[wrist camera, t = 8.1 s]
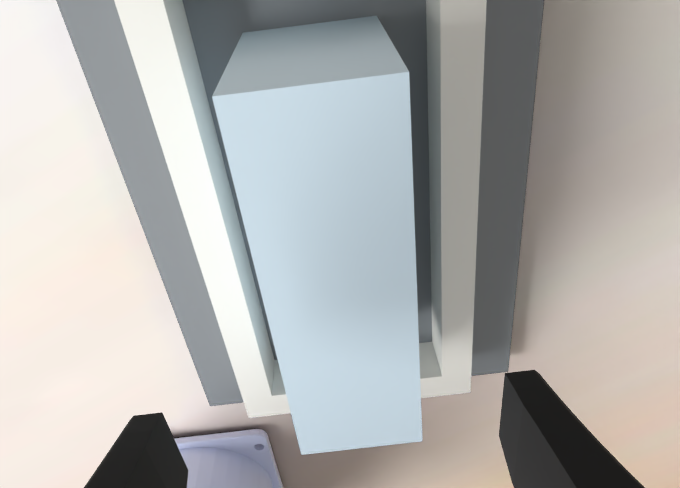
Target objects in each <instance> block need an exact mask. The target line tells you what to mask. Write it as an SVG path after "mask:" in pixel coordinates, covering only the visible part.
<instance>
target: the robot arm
mask: <svg viewBox="0 0 680 488" xmlns="http://www.w3.org/2000/svg"><path fill="white" fill-rule="evenodd" d="M499 437H500V441H501V444H502V448H503V452H504V455H505V459H506V463H507V466H508V469H509V473H510V476H511V480H512V483H513V486H514V488H645V487H644V486H642V485H641V484H640V483H639V482H638V481H637V480H636V479H635V478H634V477H633V476H632V475H631V474H630V473H629V472H628V471H627V470H626V469H625V468H624V467H623V466H622V465H621V464H620V463H619V462H618V461H617V460H616V459H615V457H614V456H613V455H612V454H611V453H610V452H609V451H608V450H607V449H606V448H605V447H604V446H603V445H602V444H601V443H600V442H599V441H598V440H597V439H596V438H595V437H594V436H593V435H592V433H591V432H590V431H589V430H588V429H587V428H586V427H585V426H584V425H583V424H582V423H581V421H580V420H579V419H578V418H577V417H576V416H575V415H574V414H573V413H572V411H571V410H570V409H569V408H568V407H567V406H566V405H565V403H564V402H563V401H562V400H561V399H560V398H559V397H558V395H557V394H556V393H555V392H554V391H553V389H552V388H551V387H550V386H549V385H548V384H547V382H546V381H545V380H544V379H543V378H542V376H541V375H540V374H539V373H538V372H536V371H535V370H529V371H521V372H512V373H505V378H504V388H503V399H502V409H501V420H500V430H499ZM84 488H283V485H282V482H281V478H280V475H279V472H278V468H277V465H276V462H275V458H274V455H273V452H272V448H271V445H270V442H269V438H268V435H267V433H266V432H265V431H263V430H261V429H252V430H244V431H235V432H226V433H217V434H209V435H200V436H191V437H183V438H173V435H172V433H171V431H170V429H169V427H168V424H167V422H166V420H165V418H164V416H163V413H154V414H146V415H137V416H133V417H132V418H131V420H130V421H129V422H128V424H127V425H126V427H125V428H124V430H123V431H122V433H121V434H120V436H119V437H118V439H117V440H116V442H115V443H114V445H113V446H112V447H111V449H110V450H109V452H108V453H107V455H106V456H105V458H104V459H103V461H102V462H101V464H100V465H99V467H98V468H97V470H96V471H95V472H94V474H93V475H92V477H91V478H90V480H89V481H88V483H87V484H86V485H85V487H84Z"/></svg>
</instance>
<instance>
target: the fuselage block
mask: <svg viewBox="0 0 680 488" xmlns="http://www.w3.org/2000/svg"><path fill="white" fill-rule="evenodd" d="M212 99H213V103H214V107H215V111H216V115H217V119H218V123H219V127H220V131H221V135H222V139H223V143H224V147H225V151H226V155H227V159H228V163H229V167H230V171H231V175H232V179H233V183H234V187H235V191H236V195H237V199H238V203H239V207H240V211H241V215H242V219H243V223H244V227H245V231H246V235H247V239H248V243H249V247H250V251H251V255H252V259H253V263H254V267H255V271H256V275H257V279H258V283H259V287H260V291H261V295H262V299H263V303H264V307H265V311H266V315H267V319H268V323H269V327H270V331H271V335H272V339H273V343H274V347H275V351H276V355H277V359H278V363H279V367H280V371H281V376H282V380H283V384H284V388H285V392H286V396H287V400H288V404H289V408H290V412H291V416H292V420H293V424H294V428H295V432H296V436H297V440H298V444H299V448H300V452H301V455H306V454H314V453H323V452H332V451H341V450H350V449H359V448H368V447H376V446H385V445H394V444H403V443H412V442H421V441H422V414H421V386H420V359H419V331H418V303H417V275H416V248H415V220H414V192H413V165H412V137H411V109H410V81H409V71H408V69H407V67H406V65H405V64H404V62H403V60H402V59H401V57H400V55H399V53H398V52H397V50H396V48H395V47H394V45H393V43H392V41H391V40H390V38H389V36H388V34H387V33H386V31H385V29H384V28H383V26H382V24H381V22H380V21H379V19H378V17H377V16H369V17H361V18H354V19H346V20H338V21H330V22H322V23H315V24H307V25H299V26H291V27H283V28H276V29H268V30H260V31H252V32H244V33H242V35H241V37H240V40H239V42H238V44H237V46H236V48H235V50H234V52H233V54H232V56H231V58H230V60H229V62H228V64H227V66H226V69H225V71H224V73H223V75H222V77H221V79H220V81H219V83H218V85H217V87H216V89H215V91H214V93H213V95H212Z"/></svg>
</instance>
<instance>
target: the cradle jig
mask: <svg viewBox="0 0 680 488" xmlns="http://www.w3.org/2000/svg"><path fill="white" fill-rule="evenodd" d="M56 1H57V3H58V6H59V9H60V11H61V14H62V17H63V19H64V22H65V25H66V27H67V30H68V32H69V35H70V38H71V40H72V43H73V46H74V48H75V51H76V54H77V56H78V59H79V62H80V64H81V67H82V69H83V72H84V75H85V77H86V80H87V83H88V85H89V88H90V91H91V93H92V96H93V98H94V101H95V104H96V106H97V109H98V112H99V114H100V117H101V120H102V122H103V125H104V127H105V130H106V133H107V135H108V138H109V141H110V143H111V146H112V149H113V151H114V154H115V157H116V159H117V162H118V164H119V167H120V170H121V172H122V175H123V178H124V180H125V183H126V186H127V188H128V191H129V193H130V196H131V199H132V201H133V204H134V207H135V209H136V212H137V215H138V217H139V220H140V223H141V225H142V228H143V230H144V233H145V236H146V238H147V241H148V244H149V246H150V249H151V252H152V254H153V257H154V259H155V262H156V265H157V267H158V270H159V273H160V275H161V278H162V281H163V283H164V286H165V289H166V291H167V294H168V296H169V299H170V302H171V304H172V307H173V310H174V312H175V315H176V318H177V320H178V323H179V325H180V328H181V331H182V333H183V336H184V339H185V341H186V344H187V347H188V349H189V352H190V354H191V357H192V360H193V362H194V365H195V368H196V370H197V373H198V376H199V378H200V381H201V384H202V386H203V389H204V391H205V394H206V397H207V399H208V402H209V405H210V406H216V405H225V404H233V403H242V402H244V405H245V408H246V411H247V414H248V417H249V418H254V417H263V416H272V415H280V414H289V413H291V412H290V408H289V404H288V400H287V396H286V392H285V388H284V384H283V380H282V376H281V371H280V367H279V363H278V359H277V355H276V351H275V347H274V343H273V339H272V335H271V331H270V327H269V323H268V319H267V315H266V311H265V307H264V303H263V299H262V295H261V291H260V287H259V283H258V279H257V275H256V271H255V267H254V263H253V259H252V255H251V251H250V247H249V243H248V239H247V235H246V231H245V227H244V223H243V219H242V215H241V211H240V207H239V203H238V199H237V195H236V191H235V187H234V183H233V179H232V175H231V171H230V167H229V163H228V159H227V155H226V151H225V147H224V143H223V139H222V135H221V131H220V127H219V123H218V119H217V115H216V111H215V107H214V103H213V99H212V95H213V93H214V91H215V89H216V87H217V85H218V83H219V81H220V79H221V77H222V75H223V73H224V71H225V69H226V66H227V64H228V62H229V60H230V58H231V56H232V54H233V52H234V50H235V48H236V46H237V44H238V42H239V40H240V37H241V35H242V33H244V32H252V31H260V30H268V29H276V28H283V27H291V26H299V25H307V24H315V23H322V22H330V21H338V20H346V19H354V18H361V17H369V16H377V17H378V19H379V21H380V22H381V24H382V26H383V28H384V29H385V31H386V33H387V34H388V36H389V38H390V40H391V41H392V43H393V45H394V47H395V48H396V50H397V52H398V53H399V55H400V57H401V59H402V60H403V62H404V64H405V65H406V67H407V69H408V71H409V81H410V109H411V137H412V165H413V192H414V220H415V248H416V275H417V303H418V331H419V359H420V386H421V398H428V397H437V396H445V395H454V394H463V393H471V376H475V375H484V374H492V373H501V372H508V367H509V357H510V346H511V336H512V326H513V316H514V305H515V295H516V285H517V274H518V264H519V254H520V243H521V233H522V223H523V213H524V202H525V192H526V182H527V171H528V161H529V151H530V140H531V130H532V120H533V110H534V99H535V89H536V79H537V68H538V58H539V48H540V37H541V27H542V17H543V7H544V0H56Z"/></svg>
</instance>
